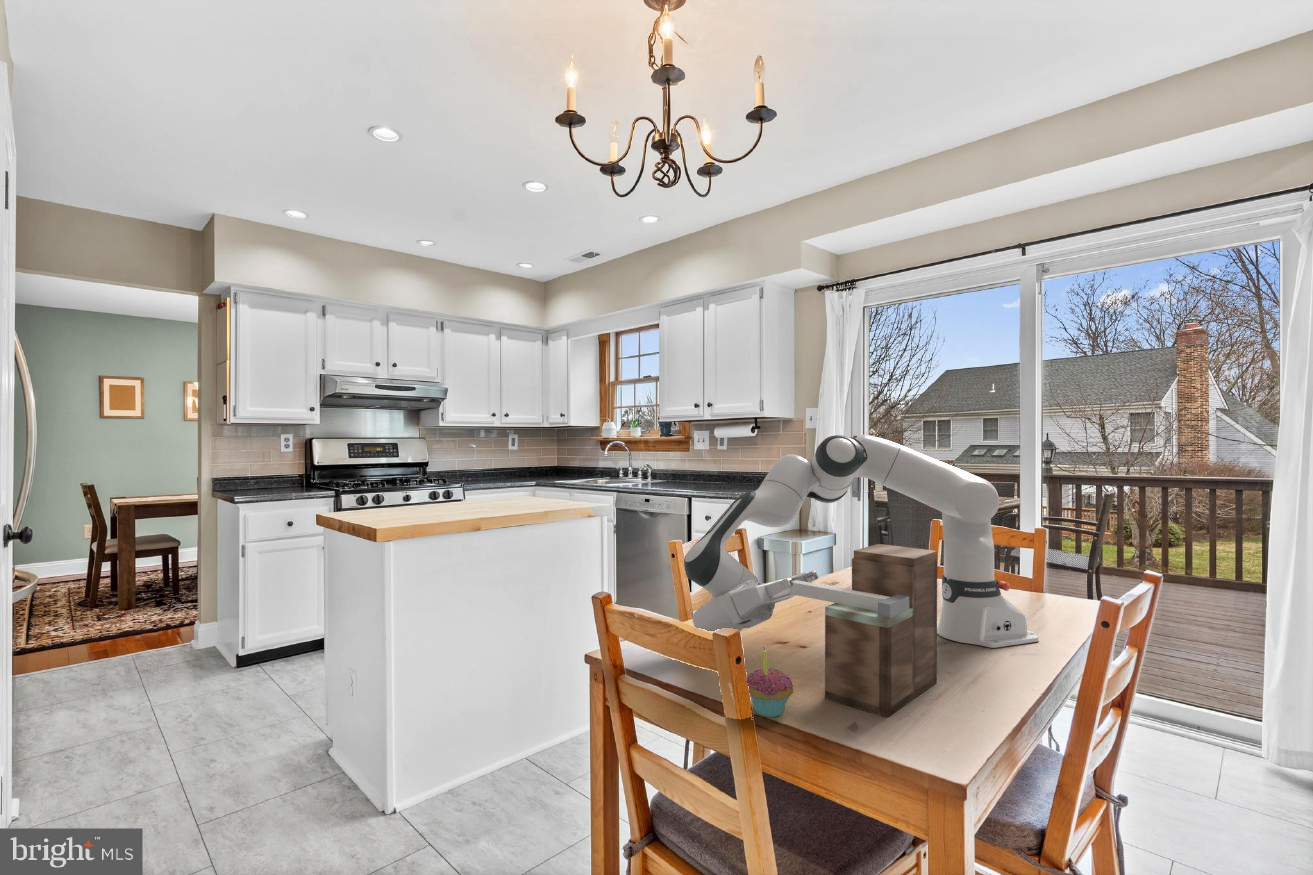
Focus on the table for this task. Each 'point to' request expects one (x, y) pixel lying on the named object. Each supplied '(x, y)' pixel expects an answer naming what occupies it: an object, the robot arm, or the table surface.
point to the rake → (852, 598)
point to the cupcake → (769, 690)
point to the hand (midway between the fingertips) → (803, 578)
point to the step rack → (884, 633)
